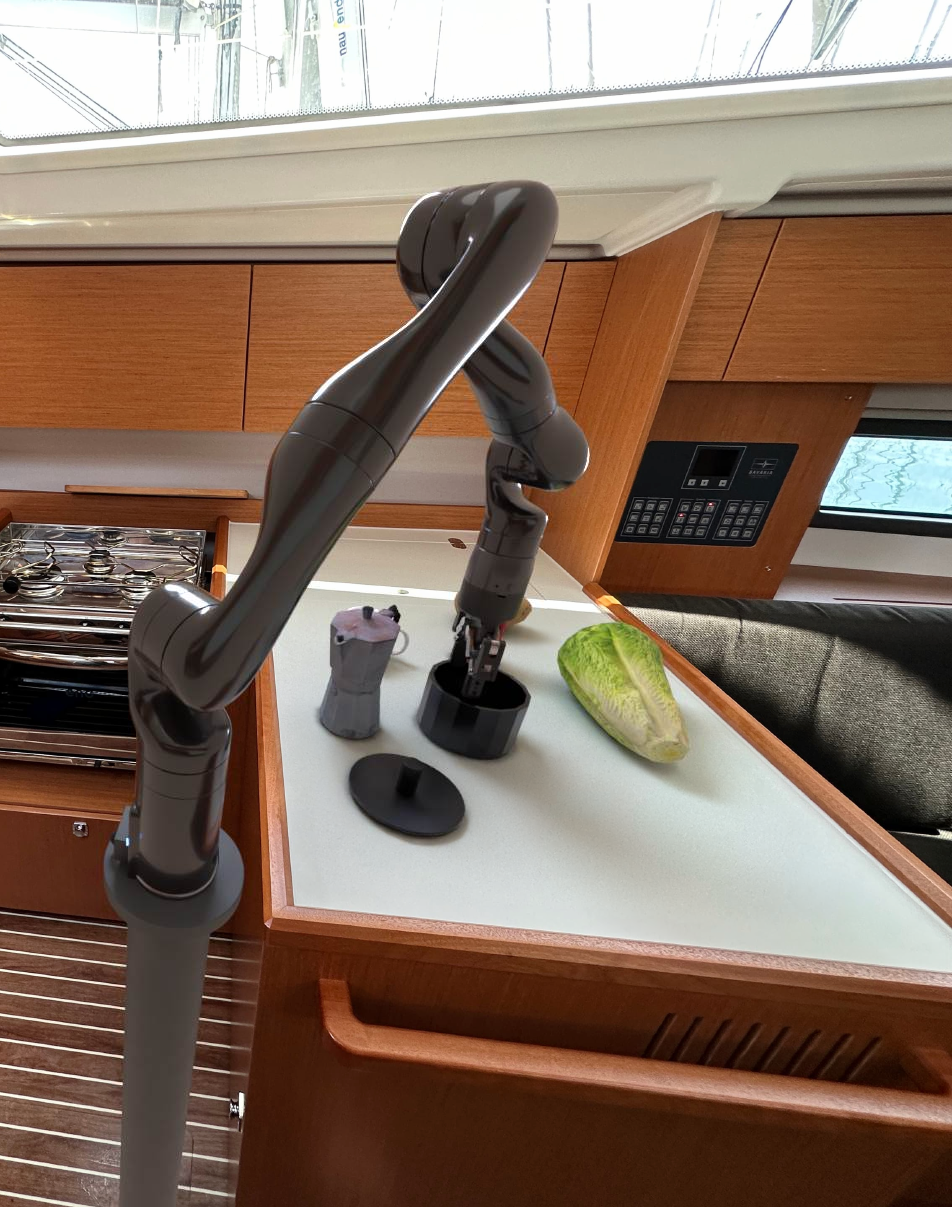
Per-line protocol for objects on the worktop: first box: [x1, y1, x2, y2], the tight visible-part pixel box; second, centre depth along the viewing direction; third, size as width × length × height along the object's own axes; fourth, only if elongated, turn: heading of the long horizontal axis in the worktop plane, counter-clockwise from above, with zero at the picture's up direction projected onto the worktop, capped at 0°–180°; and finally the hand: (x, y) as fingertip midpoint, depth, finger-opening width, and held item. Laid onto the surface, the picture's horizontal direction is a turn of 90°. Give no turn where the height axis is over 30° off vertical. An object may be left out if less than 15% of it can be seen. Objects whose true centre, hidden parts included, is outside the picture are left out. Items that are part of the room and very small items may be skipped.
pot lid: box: [347, 752, 466, 837], centre depth 79 cm, size 14×14×6 cm
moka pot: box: [319, 604, 402, 739], centre depth 89 cm, size 10×15×20 cm, turn 132°
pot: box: [416, 659, 532, 761], centre depth 91 cm, size 13×13×8 cm
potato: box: [453, 590, 533, 629], centre depth 121 cm, size 10×14×8 cm
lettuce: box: [556, 621, 691, 764], centre depth 93 cm, size 14×24×14 cm
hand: (462, 680), depth 89 cm, fingers open, 8 cm apart
